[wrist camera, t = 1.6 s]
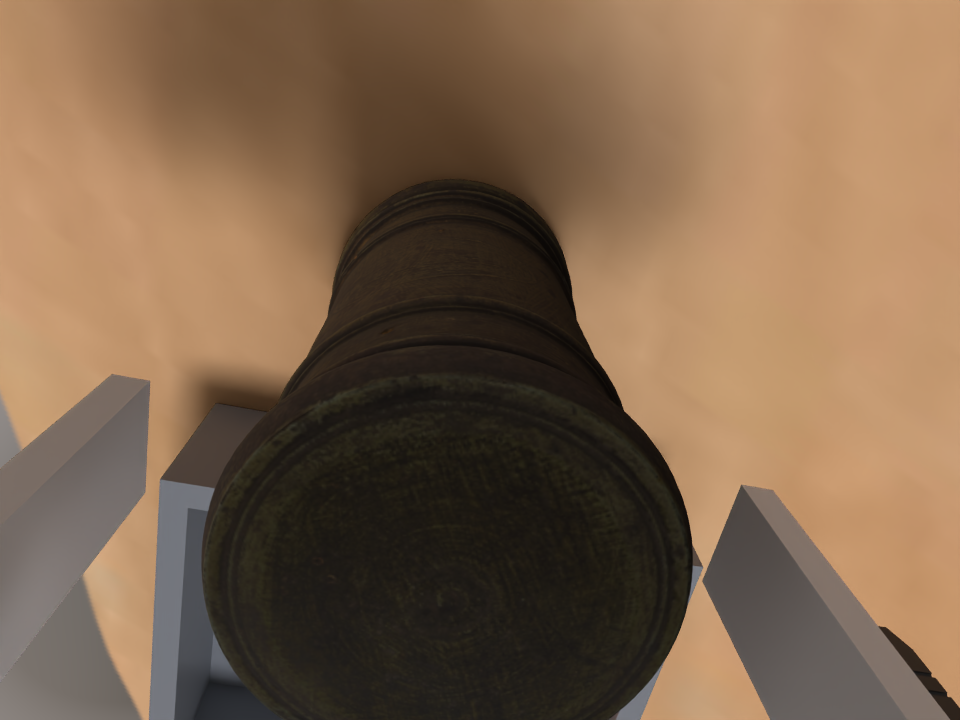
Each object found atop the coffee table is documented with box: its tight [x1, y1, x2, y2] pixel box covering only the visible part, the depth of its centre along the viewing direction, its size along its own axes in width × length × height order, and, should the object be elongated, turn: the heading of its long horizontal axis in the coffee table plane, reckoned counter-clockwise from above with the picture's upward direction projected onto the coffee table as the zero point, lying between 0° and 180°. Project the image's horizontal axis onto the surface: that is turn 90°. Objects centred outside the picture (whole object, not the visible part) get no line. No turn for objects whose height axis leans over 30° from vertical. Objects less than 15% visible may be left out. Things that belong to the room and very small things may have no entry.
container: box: [201, 179, 693, 720], centre depth 20 cm, size 9×9×18 cm
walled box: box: [149, 403, 703, 720], centre depth 31 cm, size 16×20×6 cm
